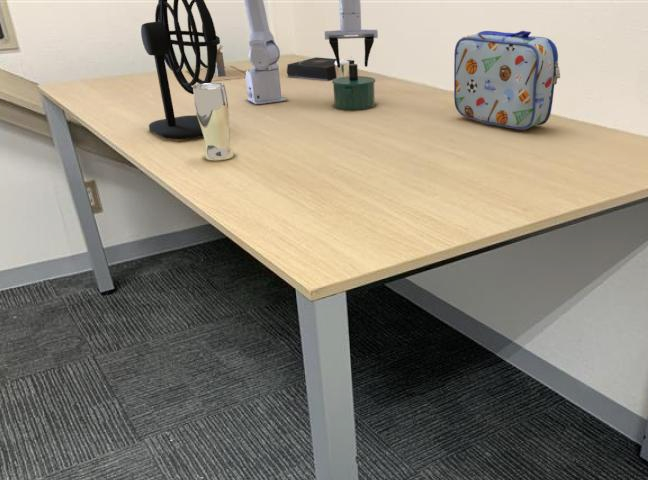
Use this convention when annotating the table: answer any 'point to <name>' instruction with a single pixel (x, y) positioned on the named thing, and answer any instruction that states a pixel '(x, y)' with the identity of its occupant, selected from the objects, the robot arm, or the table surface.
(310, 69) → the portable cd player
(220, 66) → the architectural model on board
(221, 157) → the beer glass
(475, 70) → the lunch box
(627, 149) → the table surface
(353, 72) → the lid
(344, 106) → the tin
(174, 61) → the desk fan
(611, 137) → the table surface
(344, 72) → the milkshake
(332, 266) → the table surface
